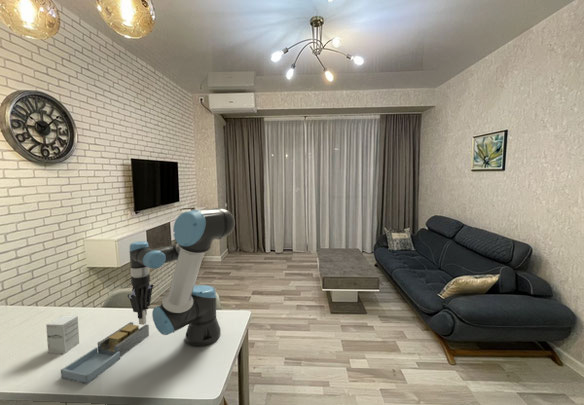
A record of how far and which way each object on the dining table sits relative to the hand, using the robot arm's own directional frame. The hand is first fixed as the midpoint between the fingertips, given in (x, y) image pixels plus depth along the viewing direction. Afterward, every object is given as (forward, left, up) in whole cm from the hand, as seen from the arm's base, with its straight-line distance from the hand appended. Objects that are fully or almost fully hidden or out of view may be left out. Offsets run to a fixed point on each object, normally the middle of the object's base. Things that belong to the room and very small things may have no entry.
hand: (142, 323), depth 120 cm
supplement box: (+23, +18, -4) cm, 29 cm away
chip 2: (0, +7, -1) cm, 7 cm away
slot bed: (0, +10, -4) cm, 11 cm away
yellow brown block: (0, +13, -1) cm, 13 cm away
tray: (0, +24, -4) cm, 25 cm away
